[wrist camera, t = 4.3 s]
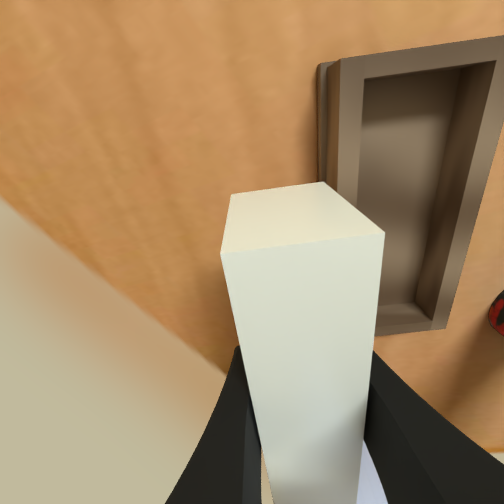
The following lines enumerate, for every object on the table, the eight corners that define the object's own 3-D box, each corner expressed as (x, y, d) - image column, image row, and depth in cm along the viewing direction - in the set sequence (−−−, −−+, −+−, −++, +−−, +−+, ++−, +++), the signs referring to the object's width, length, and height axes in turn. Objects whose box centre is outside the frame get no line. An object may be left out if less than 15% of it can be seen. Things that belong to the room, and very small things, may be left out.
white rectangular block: (325, 399, 14) (356, 507, 10) (267, 405, 15) (276, 514, 11) (323, 181, 9) (385, 232, 5) (231, 194, 9) (220, 254, 5)
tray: (425, 305, 20) (449, 330, 17) (319, 317, 20) (329, 343, 18) (484, 41, 13) (538, 23, 10) (317, 65, 13) (333, 53, 11)
